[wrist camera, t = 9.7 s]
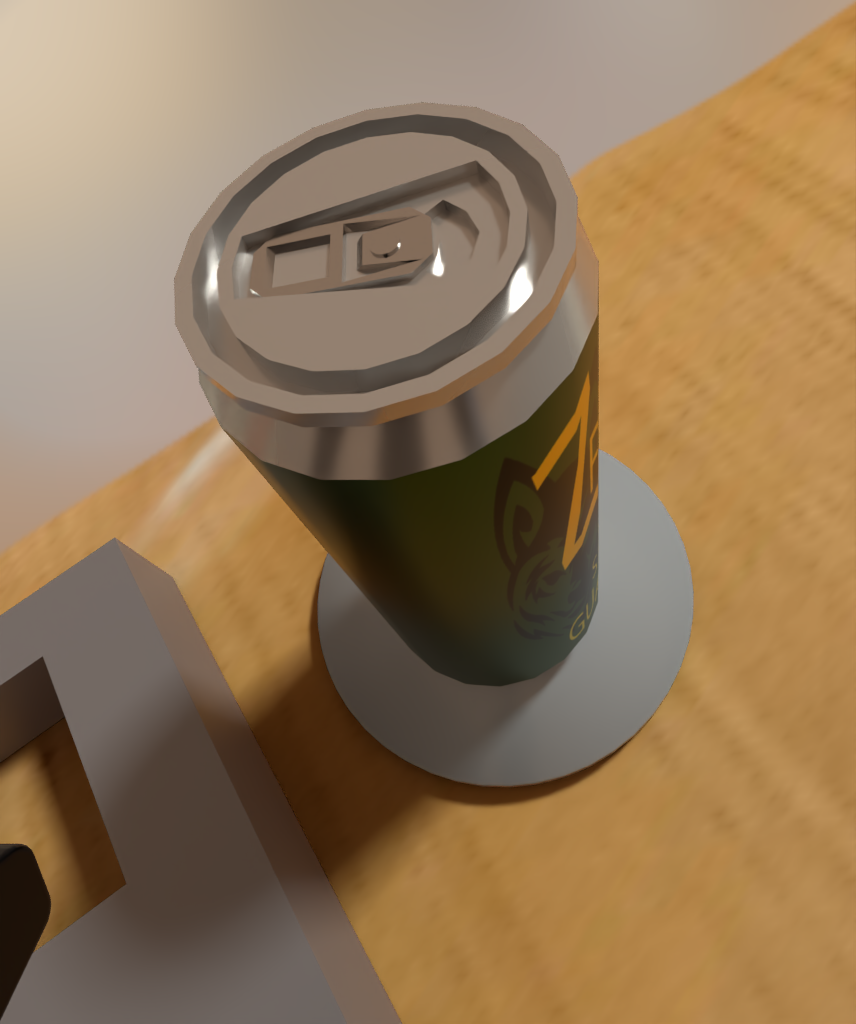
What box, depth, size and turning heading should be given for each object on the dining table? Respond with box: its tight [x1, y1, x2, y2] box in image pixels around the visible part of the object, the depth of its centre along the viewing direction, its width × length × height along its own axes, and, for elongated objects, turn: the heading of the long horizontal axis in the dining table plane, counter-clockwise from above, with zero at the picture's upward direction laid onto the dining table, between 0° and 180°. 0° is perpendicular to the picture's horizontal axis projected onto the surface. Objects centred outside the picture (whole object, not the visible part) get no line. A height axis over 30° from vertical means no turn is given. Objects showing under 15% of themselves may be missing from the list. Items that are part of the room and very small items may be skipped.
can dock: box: [0, 538, 402, 1024], centre depth 16 cm, size 14×12×3 cm
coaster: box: [318, 449, 693, 788], centre depth 19 cm, size 10×10×1 cm
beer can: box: [174, 102, 599, 687], centre depth 13 cm, size 5×5×12 cm
